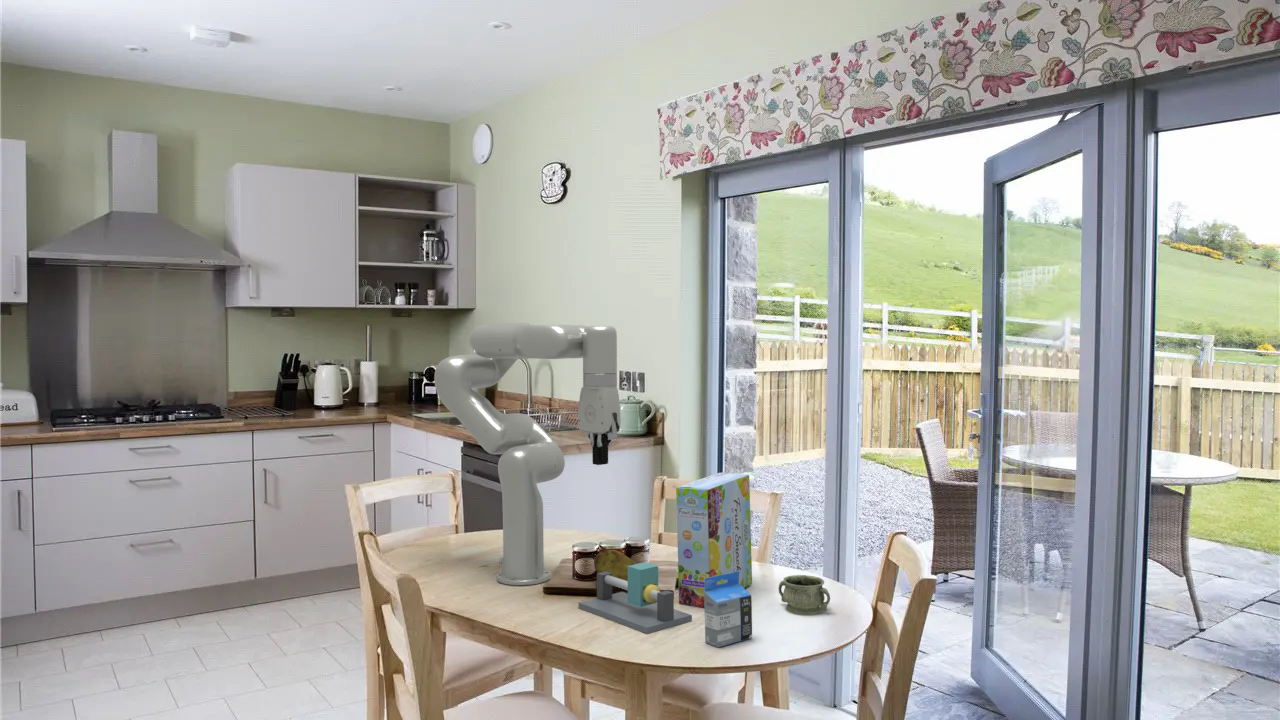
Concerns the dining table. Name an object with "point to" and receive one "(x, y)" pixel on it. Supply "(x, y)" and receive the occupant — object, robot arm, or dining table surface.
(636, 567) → the teal sliding cube
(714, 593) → the label tape box
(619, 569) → the potato
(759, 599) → the dining table surface
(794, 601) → the vessel
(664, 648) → the dining table surface
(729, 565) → the snack box
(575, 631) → the dining table surface
